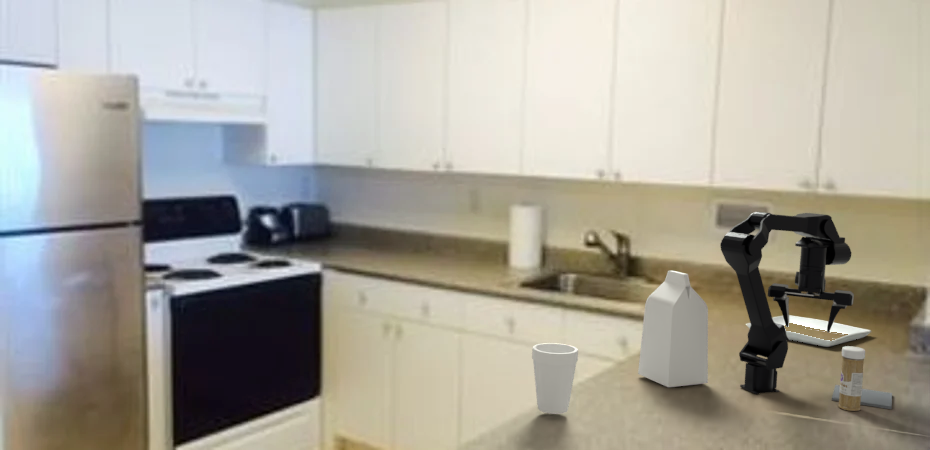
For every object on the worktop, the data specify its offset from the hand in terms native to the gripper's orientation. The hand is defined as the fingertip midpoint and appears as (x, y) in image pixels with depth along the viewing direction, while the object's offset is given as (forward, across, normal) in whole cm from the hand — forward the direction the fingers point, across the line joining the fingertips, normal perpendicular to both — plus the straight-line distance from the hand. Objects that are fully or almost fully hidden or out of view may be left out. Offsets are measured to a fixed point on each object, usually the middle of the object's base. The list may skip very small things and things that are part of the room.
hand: (807, 329), depth 200 cm
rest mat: (+13, -13, +7) cm, 20 cm away
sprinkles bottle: (+13, -12, +18) cm, 25 cm away
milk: (+13, +28, +16) cm, 35 cm away
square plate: (+13, +6, -55) cm, 57 cm away
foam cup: (+14, +43, +55) cm, 71 cm away
